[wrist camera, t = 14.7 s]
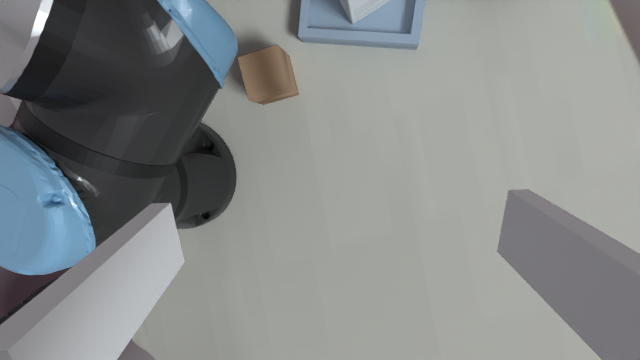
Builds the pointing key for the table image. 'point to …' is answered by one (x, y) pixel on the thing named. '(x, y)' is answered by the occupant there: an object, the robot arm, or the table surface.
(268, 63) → the walnut block
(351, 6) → the supplement box
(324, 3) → the tray
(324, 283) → the table surface
